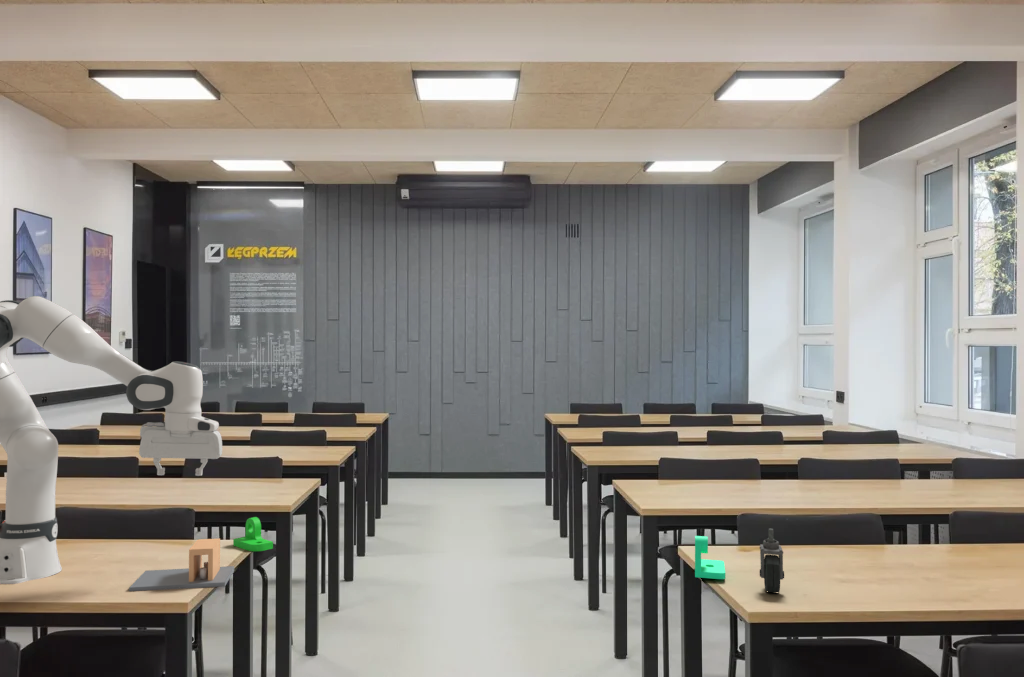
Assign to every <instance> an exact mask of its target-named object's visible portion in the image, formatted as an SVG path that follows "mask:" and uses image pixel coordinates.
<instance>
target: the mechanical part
mask: <svg viewBox="0 0 1024 677" xmlns="http://www.w3.org/2000/svg"><path fill="white" fill-rule="evenodd" d="M232 540H233V542H232V543H233V547H237V548H240V549H243V550H246V551H247V552H248V551H249V552H263V551H267V550H272V549H274V542H273V541H272V540H268V539H265V538H263V537H262V523H261V520H260V518H259V517H257V516H253V517H249V518H247V519H246V522H245V536H242V537H237V538H236V537H235V538H233V539H232Z"/></svg>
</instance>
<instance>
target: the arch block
mask: <svg viewBox="0 0 1024 677" xmlns="http://www.w3.org/2000/svg"><path fill="white" fill-rule="evenodd" d="M188 550H189V551H188V568H189V582H194V580H195V579H196V577H197V576H198V575H199V573H200V568H202V567H203V556H207V562H208V581H212V580H213V579H214V577H215V576H216V574H217V573H218V571H219V570H220V567H221V538H203V539H202V538H201V539H197V540H196V541H195V542H194V543H193V545H191V547H190V548H189V549H188Z"/></svg>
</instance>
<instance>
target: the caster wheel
mask: <svg viewBox="0 0 1024 677" xmlns="http://www.w3.org/2000/svg"><path fill="white" fill-rule="evenodd" d="M767 534H768V538H766V539H764V540H763V541H762V544H759V552H760V553H759V554H760V555H759V556H760V558H759V559H760V569H759V577H760V578H761V579H763V581H764V582H763V583H764V591H765V590H766V591H768V592H779V593H780V591H781V580H784V579H785V571H784V557H783V556H784V551H783V548H782V545H780V542H779V541H778V540H776V539H775V538H774V528H768V532H767ZM766 591H765V592H766Z"/></svg>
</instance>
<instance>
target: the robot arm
mask: <svg viewBox="0 0 1024 677" xmlns="http://www.w3.org/2000/svg"><path fill="white" fill-rule="evenodd" d="M24 339H26V340H29V341H31V342H33V343H34V344H36V345H38V347H39V346H40V347H41V348H42V349H43V350H45V351H46V352H48V353H50V354H51V355H53V356H55V357H57V358H59V359H62V360H64V361H67V362H69V363H73V364H78V365H84V366H89V367H92V368H96V369H98V370H100V371H102V372H104V373H105V374H107V375H109V376H110V377H112V378H113V379H115V380H117V381H118V382H120V383H122V384H123V385H125V386H126V393H125V395H126V398H127V402H129V404H131V406H133V407H135V408H136V409H139V410H143V411H151V410H155V409H162V408H164V409H165V413H164V416H165V417H164V422H162V421H160V422H153V421H151V422H150V421H149V422H146V423H144V424H142V425H141V426H140V431H139V435H140V437H141V438H140V439H141V440H140V444H139V449H138V450H139V451H138V453H139V454H138V455H139V456H140V457H141V458H143V459H145V458H147V459H153V460H152V463H153V465H154V466H155V467H156V475H157V476H165V474H166V472H165V471H166V467H162V465H161V463H160V462H161V461H162V459H200V463H201V465H200V467H196V469H195V471H194V472H195V474H194V475H195V476H197V477H199V476H203V470H204V468H205V466H206V465H207V463H208V461H209V460H210V459H211V460H218V459H219V458H220V457H222V455H223V439H222V434H221V433H220V431H218V429H219V427H220V424H219V421H217V420H213V419H210V418H207V417H204V416H202V413H203V412H202V407H201V403H202V402H201V401H202V398H203V391H204V384H203V383H204V381H203V380H204V379H203V378H204V377H203V372H202V369H201V368H200V367H199V366H197V365H196V364H193V363H189V362H185V361H177V360H176V361H172V362H171V363H169V364H167V365H165V366H163V367H161V368H158V369H155V370H150V369H147V368H145V367H144V366H143V367H142V366H141V365H140V364H138V363H136V362H135V361H134V360H132V359H130V358H129V357H127V356H125V355H124V354H123V353H121V352H120V351H118V350H117V349H115V348H114V347H112V345H111V344H109V343H108V342H107V341H106V340H105V339H104V338H103V337H101V335H99V334H98V333H97V332H96V331H95V329H93V328H92V327H91V326H90V325H89V324H88V323H86V322H85V321H84V320H82V319H81V318H80V317H79V316H77V315H76V314H75V313H73V312H72V311H70V310H68V309H67V308H65V307H63V306H61V305H60V304H57V303H56V302H54V301H51V300H49V299H47V298H46V297H45V298H44V297H43V296H37V295H34V296H29V297H27V298H25V299H24V300H22V301H18V300H9V299H8V300H7V299H6V300H1V301H0V445H1V446H2V448H3V450H4V451H5V453H6V455H7V461H6V464H7V465H6V483H5V484H6V486H5V519H4V520H3V521H2V523H0V585H15V584H21V583H24V582H29V581H34V580H40V579H43V578H48V577H51V576H53V575H56V574H58V573H60V572H61V571H62V569H63V568H62V565H61V562H60V558H59V554H58V553H59V552H58V546H57V538H58V517H57V516H56V492H57V490H56V488H57V487H56V486H57V479H58V477H57V476H58V475H57V474H58V460H59V442H58V439H57V437H56V436H55V435H54V434H53V433H52V431H50V429H49V427H48V425H47V424H46V422H45V421H44V419H43V417H42V416H41V413H40V412H39V410H38V408H37V406H36V405H35V403H34V401H33V399H32V397H31V396H30V394H29V392H28V391H27V389H26V387H25V386H24V384H23V382H22V381H21V379H20V377H19V376H18V374H17V372H16V371H15V369H14V367H13V366H12V364H11V363H10V361H9V358H8V355H7V352H8V349H9V348H13V347H15V346H16V345H17V344H18V343H20V341H22V340H24Z"/></svg>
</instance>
